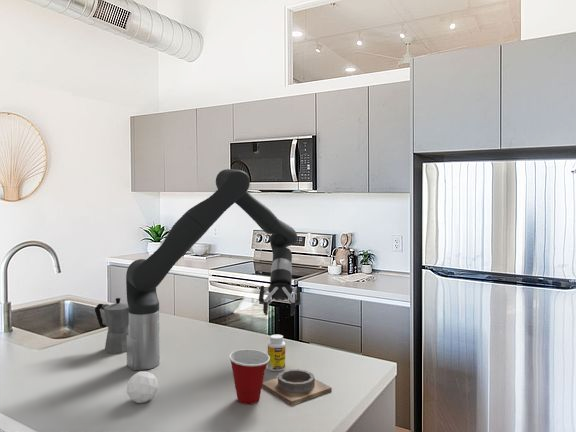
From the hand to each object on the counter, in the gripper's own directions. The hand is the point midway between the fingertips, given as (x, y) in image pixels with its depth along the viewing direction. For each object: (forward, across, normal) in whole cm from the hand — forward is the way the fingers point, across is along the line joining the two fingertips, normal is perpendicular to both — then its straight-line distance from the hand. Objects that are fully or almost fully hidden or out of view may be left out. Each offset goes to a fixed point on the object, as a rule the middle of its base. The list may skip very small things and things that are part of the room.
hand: (278, 314), depth 150 cm
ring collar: (+27, +7, -7) cm, 29 cm away
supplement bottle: (+18, 0, +3) cm, 18 cm away
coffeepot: (+8, -57, +12) cm, 59 cm away
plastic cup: (+33, -6, -12) cm, 36 cm away
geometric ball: (+35, -33, -14) cm, 50 cm away
